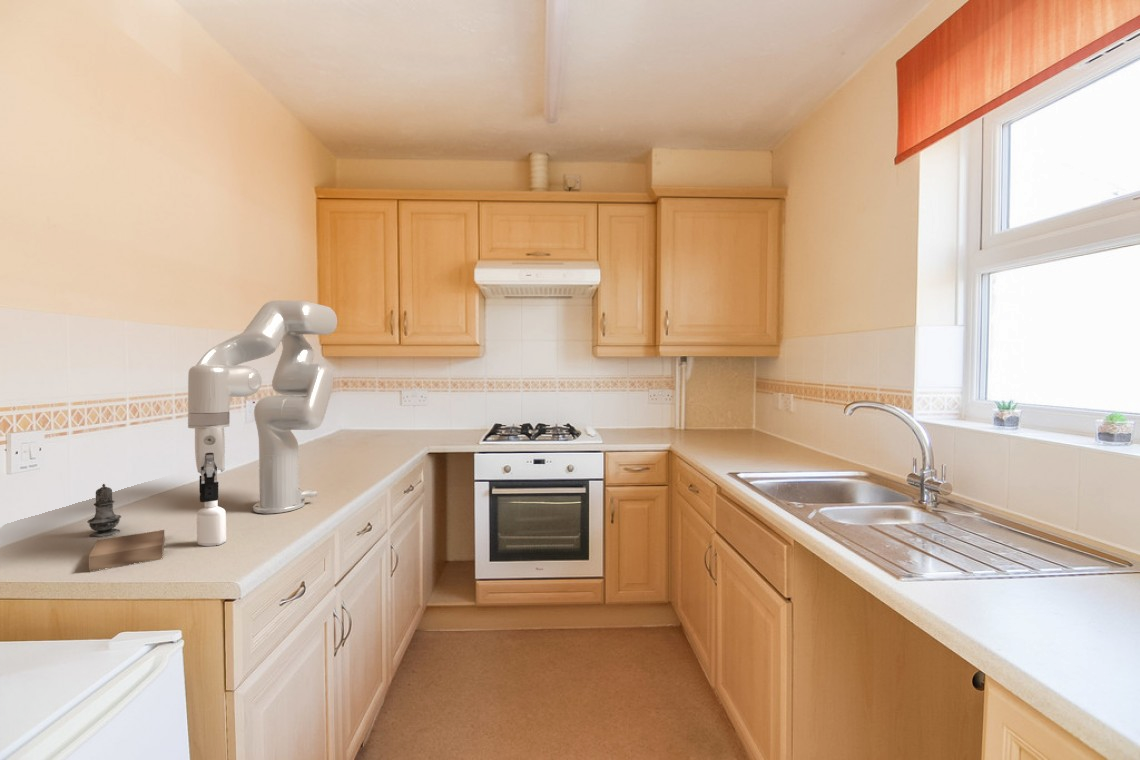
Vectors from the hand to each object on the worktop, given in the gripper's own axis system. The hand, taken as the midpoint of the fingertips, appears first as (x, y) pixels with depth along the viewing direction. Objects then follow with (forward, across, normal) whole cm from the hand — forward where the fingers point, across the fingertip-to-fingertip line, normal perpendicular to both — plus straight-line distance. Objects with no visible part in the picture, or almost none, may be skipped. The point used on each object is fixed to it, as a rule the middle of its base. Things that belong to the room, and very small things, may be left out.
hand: (208, 496), depth 110 cm
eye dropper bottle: (+11, +1, -1) cm, 11 cm away
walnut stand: (+11, +2, +13) cm, 17 cm away
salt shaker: (+11, +23, +19) cm, 32 cm away
